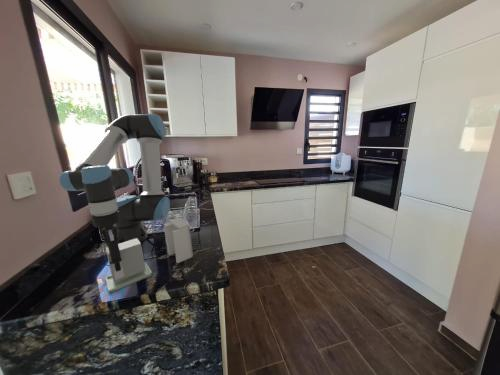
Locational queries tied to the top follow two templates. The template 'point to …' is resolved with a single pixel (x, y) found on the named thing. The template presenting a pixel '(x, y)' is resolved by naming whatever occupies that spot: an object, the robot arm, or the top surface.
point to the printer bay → (178, 239)
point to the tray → (127, 280)
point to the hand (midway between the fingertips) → (118, 273)
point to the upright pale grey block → (129, 258)
